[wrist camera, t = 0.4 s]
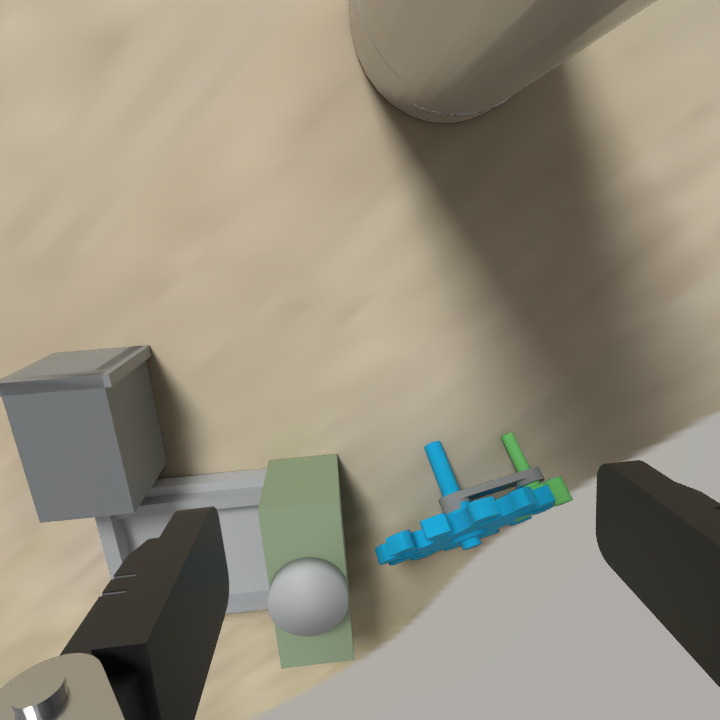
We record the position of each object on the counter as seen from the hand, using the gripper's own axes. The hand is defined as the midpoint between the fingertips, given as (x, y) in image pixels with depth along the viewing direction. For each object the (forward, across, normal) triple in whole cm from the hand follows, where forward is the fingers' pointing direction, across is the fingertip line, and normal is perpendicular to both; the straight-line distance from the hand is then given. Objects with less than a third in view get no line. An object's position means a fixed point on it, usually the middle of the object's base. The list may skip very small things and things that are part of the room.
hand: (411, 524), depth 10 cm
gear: (+18, -5, +9) cm, 21 cm away
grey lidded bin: (+17, +14, +2) cm, 22 cm away
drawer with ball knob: (+18, +9, +11) cm, 22 cm away
